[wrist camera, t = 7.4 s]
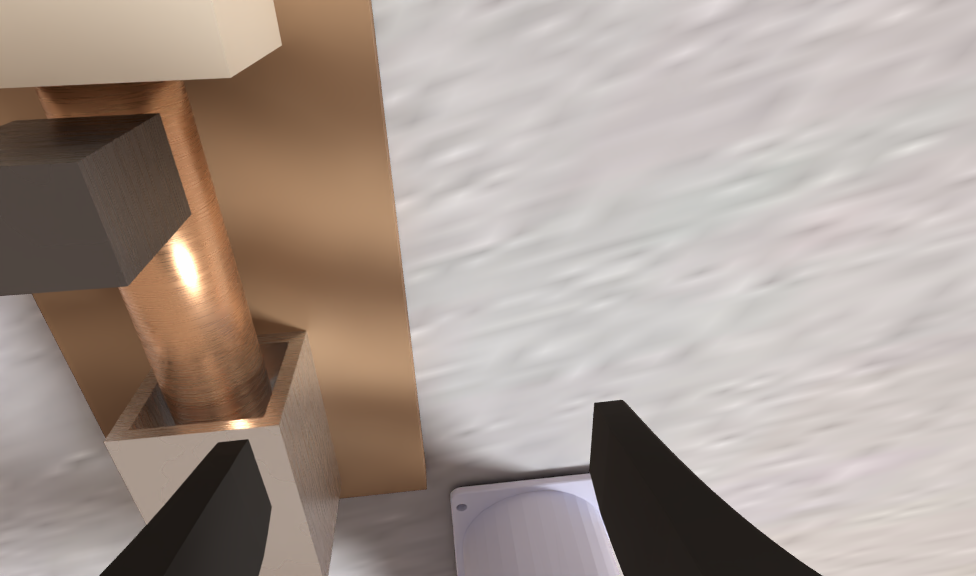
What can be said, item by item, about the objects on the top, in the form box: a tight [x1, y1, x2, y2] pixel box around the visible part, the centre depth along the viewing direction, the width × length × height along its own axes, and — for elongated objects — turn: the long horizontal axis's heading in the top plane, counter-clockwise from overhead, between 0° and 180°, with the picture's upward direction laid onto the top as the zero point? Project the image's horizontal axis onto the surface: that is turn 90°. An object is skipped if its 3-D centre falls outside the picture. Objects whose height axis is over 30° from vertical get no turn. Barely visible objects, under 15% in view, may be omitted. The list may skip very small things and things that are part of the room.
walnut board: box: [0, 0, 427, 499], centre depth 19 cm, size 23×12×1 cm, turn 1°
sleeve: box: [104, 331, 342, 576], centre depth 20 cm, size 8×5×5 cm, turn 1°
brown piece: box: [0, 80, 273, 426], centre depth 14 cm, size 14×3×6 cm, turn 1°
